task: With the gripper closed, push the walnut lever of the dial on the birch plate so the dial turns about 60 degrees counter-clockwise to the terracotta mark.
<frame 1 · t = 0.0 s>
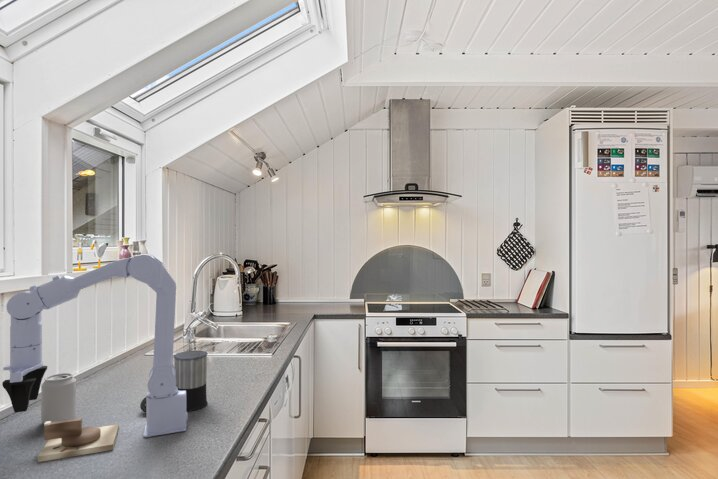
hand: (26, 405, 98), 10 cm above the countertop, tool pointing down, fingers open, 7 cm apart
can: (59, 422, 114), on the countertop
dial plate: (81, 444, 101), on the countertop
dial: (73, 429, 100), point 4 cm above the countertop, hinge at 0.0°
milk frother: (175, 408, 123), on the countertop
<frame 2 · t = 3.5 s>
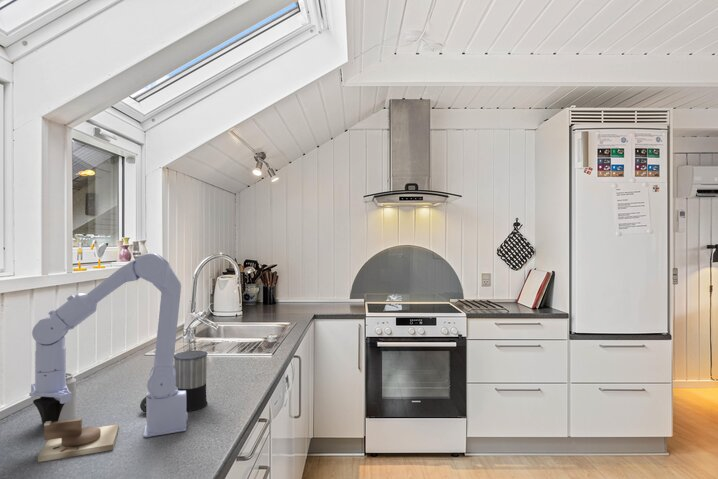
hand: (50, 428, 100), 4 cm above the countertop, tool pointing down, fingers closed, pressing on dial
dial: (73, 429, 100), point 4 cm above the countertop, hinge at 0.1°, touching gripper
everything else where it was.
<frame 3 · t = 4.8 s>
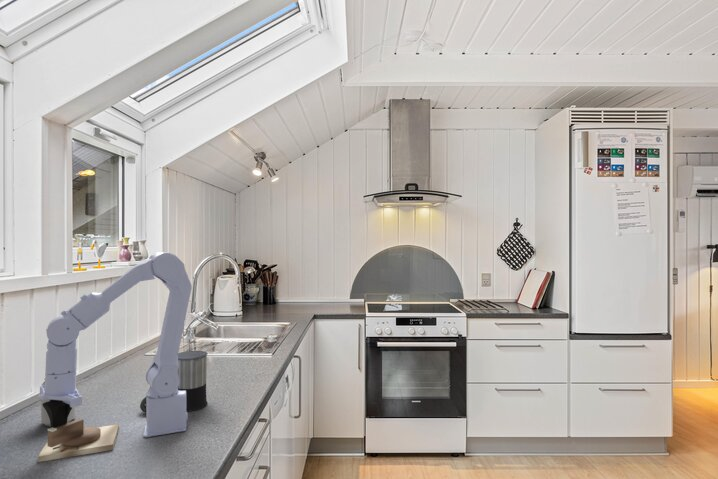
hand: (58, 432, 97), 4 cm above the countertop, tool pointing down, fingers closed, pressing on dial
dial: (74, 431, 99), point 4 cm above the countertop, hinge at 43.9°, touching gripper
everything else where it was.
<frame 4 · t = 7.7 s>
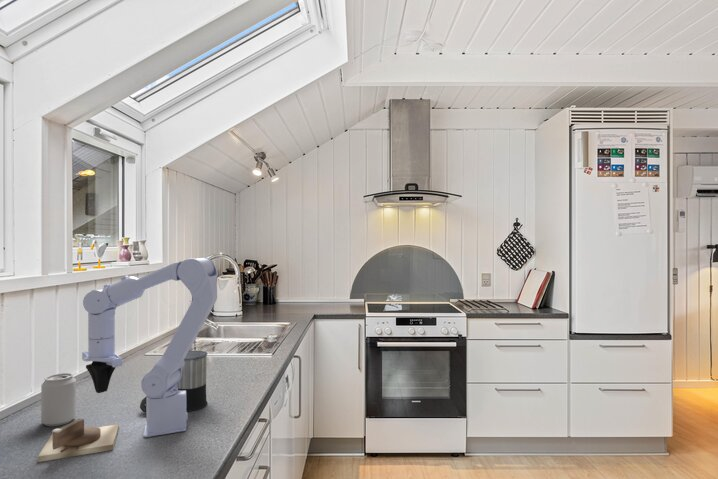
hand: (101, 391, 109), 9 cm above the countertop, tool pointing down, fingers closed
dial: (75, 431, 99), point 4 cm above the countertop, hinge at 56.8°
everything else where it was.
at the end: dial at +57° (first picture: +0°); can moved 0.2 cm from its start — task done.
